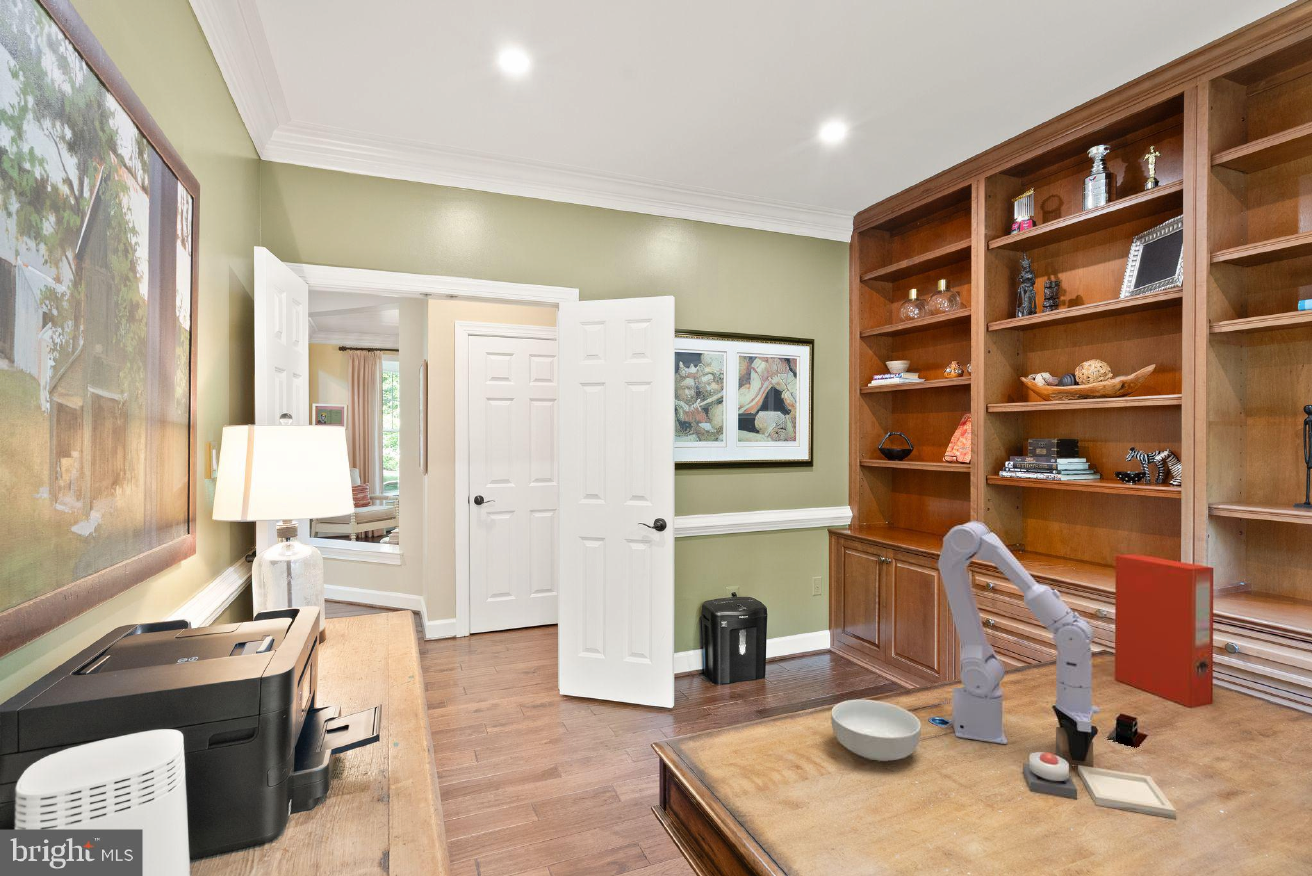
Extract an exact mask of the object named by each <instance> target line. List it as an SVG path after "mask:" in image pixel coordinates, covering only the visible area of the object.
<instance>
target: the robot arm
mask: <svg viewBox="0 0 1312 876" xmlns="http://www.w3.org/2000/svg"><path fill="white" fill-rule="evenodd" d="M942 541H943V542H942V543H943V544H942V548H941V551H940V554H939V559H938V562H937V563H938V564H937V565H938V570H939V573H940V576H941V579H942V583H943V586H944V591H945V594H946V597H947V601H948V604H949V607H950V611H951V612H950V613H951V614H952V619H953V621H954V624H955V629H956V631H957V636H958V639H959V643H960V645H961V650H960V656H959V661H960V665H961V672H960V680H961V683H962V685H963V686H962V687H953V688H952V713H951V723H952V725H953V729H954V734H955V737H957V738H961V739H962V738H964V739H968V740H969V739H970V740H975V741H976V740H977V741H983V742H989V743H995V744H1002V745H1007V744H1008V740H1007V738H1006V735H1005V732H1004V729H1003V691H1002V688H1001V686H1000V682H1002V681H1003V679H1004V678H1005V676H1006V671H1005V667H1004V666H1005V665H1004V664H1003V663H1002V661H1001V660H1000V659H999V658H998V656H997V655H996V652H995V650H994V649H995V648H994V647H993V645H991V644H990V642H988V639H987V636H986V633H985V629H984V628H985V627H984V626H983V622H982V617H981V615H980V611H979V608H978V605H977V602H976V598H975V595H974V591H973V588H972V585H971V582H970V579H969V574H968V571H967V567H968V566H969V565H970V563H971V561H972V560H973V559H974V558H975V559H976V560H979V561H980V560H981V561H984V562H988V563H991V564H993V565H995V567H996V568H998V570H999V571H1000V572H1002V574H1004V576H1005V577H1006V578H1007V579H1008V580H1009V581H1010V582H1011V583H1012V584H1013V585H1014V586H1015V587H1016V588H1017V589H1018V590H1019V591H1020V592H1022V593H1023V603H1024V605H1025V606H1026V607H1027V608H1028V609H1029V610H1030V611H1031V613H1032V614H1033V615H1034V616H1035V617H1036V618H1037V619H1038V621H1039V622H1041V624H1042V625H1043V626H1044V627H1045V628H1046V629H1047V630H1048V631H1050V632H1051V633H1052V634H1053V635H1052V640H1053V642H1054V644H1055V646H1056V647H1057V648H1056V649H1057V651H1056V652H1057V655H1056V684H1055V685H1056V699H1055V702H1054V703H1055V705H1051V708H1052V709H1053V712H1054V714H1055V716H1056V718H1057V721H1058V725H1059V726H1058V727H1062V728H1064V729H1065V732H1066V735H1067V739H1068V745H1069V751H1070V755H1071V758H1072V760H1077V761H1085V760H1086V757H1087V753H1088V749H1089V746H1090V744H1091V741H1093V740H1094V738H1095V737H1096V736H1097V735H1098V733H1099V729H1098V727H1097V726H1096V725H1092V717H1093V714H1096V715H1097V714H1100V709H1099V707H1098V706H1097V705H1093V662H1092V650H1091V649H1092V648H1091V647H1090V646H1091V644H1092V643H1093V641H1094V637H1095V635H1094V629H1093V627H1092V626H1091V625H1090V622H1089V621H1088V620H1087V619H1085V618H1083V617H1081V616H1080V613H1078V612H1077V611H1075V612H1074V611H1073V610H1072V609H1071V608H1070V607H1069V606H1068V605H1067V604H1066V603H1065V602H1064V600H1062V598H1061V597H1060V596H1061V593H1060V592H1059V591H1058V590H1057V589H1054V590H1053V589H1052V588H1051V587H1050V586H1048V585H1044V584H1040V583H1037V581H1036V580H1035V579H1034V578H1033V577H1032V575H1031V574H1030V573H1029V572H1028V571H1027V570H1026V568H1024V566H1023V565H1022V564H1021V563H1020V561H1018V559H1017V558H1016V557H1015V556H1014V555H1013V554H1012V552H1011V551H1010V550H1009V549H1008V547H1006V545H1005V544H1004V543H1003V542H1002V540H1001V539H1000V538H999V537H998V535H996V534H995V533H994V532H991V531H990V529H989V528H988V526H987V525H986V524H985V523H983V522H980V521H976V520H973V521H972V520H971V521H968V522H966V523H963V524H962V525H961V524H960V525H956V526H953V527H952V528H951V529H950V530H949V531H948V532H947V534H946V535H945V536H944V537H943V538H942Z"/></svg>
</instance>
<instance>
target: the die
mask: <svg viewBox="0 0 1312 876" xmlns="http://www.w3.org/2000/svg"><path fill="white" fill-rule="evenodd" d="M1055 753H1056V755H1057V754H1058V755H1057V756H1059V757H1061V758H1062V759H1064V760H1066V761H1067V762H1068V764H1069V766H1070V765H1074V766H1073V767H1077V766H1078V765H1081V766H1087V767H1093V768H1094V742H1093V740H1092V741H1091V744H1090V746H1089V749H1088V753H1087V757H1086V760H1085V761H1077V760H1072V758H1071V755H1070V751H1069V745H1068V739H1067V735H1066V732H1065V729H1064V728H1062V727H1060V726H1055Z"/></svg>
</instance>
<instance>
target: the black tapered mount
mask: <svg viewBox="0 0 1312 876" xmlns="http://www.w3.org/2000/svg"><path fill="white" fill-rule="evenodd" d="M1138 730H1139V722H1138V717H1135V716H1132V715H1129V714H1125V713H1119V715H1118V716H1116V718H1115V727H1114V728H1113V729H1112V731H1111V732H1110V733H1109V734H1108V735H1109V736H1108V735H1107V737H1106V738H1108V739H1107V740H1106V741H1108V740H1113V741H1112V743H1115V742H1118V743H1117V744H1118V745H1121V744H1124V745H1123V746H1124V747H1128V746H1131V747H1134V748H1133V749H1135V747H1136V748H1137V747H1139V748H1140V746H1141V745H1142V744H1143V743H1142V742H1144V741H1145V740H1146V739H1147V737H1148V736H1149V734H1146V733H1143V732H1140V731H1138ZM1140 744H1141V745H1140ZM1131 747H1130V748H1131Z"/></svg>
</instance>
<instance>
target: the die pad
mask: <svg viewBox="0 0 1312 876" xmlns="http://www.w3.org/2000/svg"><path fill="white" fill-rule="evenodd" d="M1077 768H1078V769H1077V772H1078V773H1077V774H1078V775H1079V776H1080V778H1081V780H1082V781H1081V782H1083V784H1084V786H1085V787H1086V790H1087V791H1088V793H1089V795H1090V796H1091V799H1092V800H1093V802H1094V804H1095V805H1096V806H1099V807H1105V808H1111V809H1116V810H1122V811H1127V812H1133V813H1140V814H1145V815H1151V816H1156V817H1157V816H1158V817H1162V818H1167V819H1169V818H1170V819H1174V820H1176V819H1177V810H1176V809H1175V807H1174V806H1173V805H1172V803H1171V802H1170V801H1169V800H1168V798H1167V797H1166V796H1165V794H1164V793H1163V791H1162V790H1161V789H1160V787H1159V786H1158V785H1157V783H1156V782H1155V781H1154V780H1153V778H1152V777H1151V776H1150V775H1143V774H1138V773H1137V774H1136V773H1130V772H1124V771H1119V770H1112V769H1111V770H1110V769H1104V768H1099V767H1094V766H1093V767H1087V766H1081V765H1078V767H1077Z"/></svg>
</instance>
